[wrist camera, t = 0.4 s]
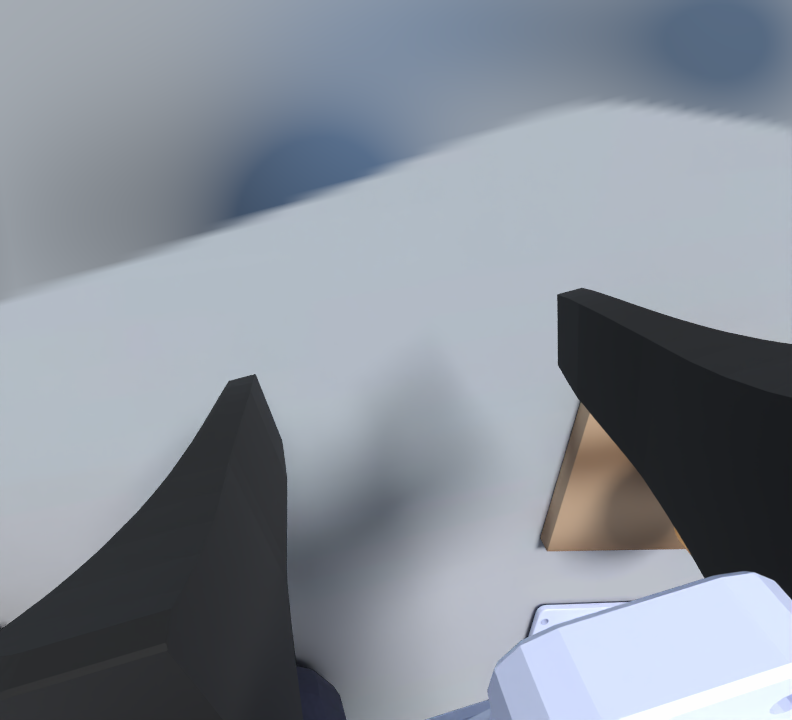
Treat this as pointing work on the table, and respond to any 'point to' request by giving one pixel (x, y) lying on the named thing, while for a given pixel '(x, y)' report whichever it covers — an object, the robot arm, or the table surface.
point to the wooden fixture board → (603, 499)
